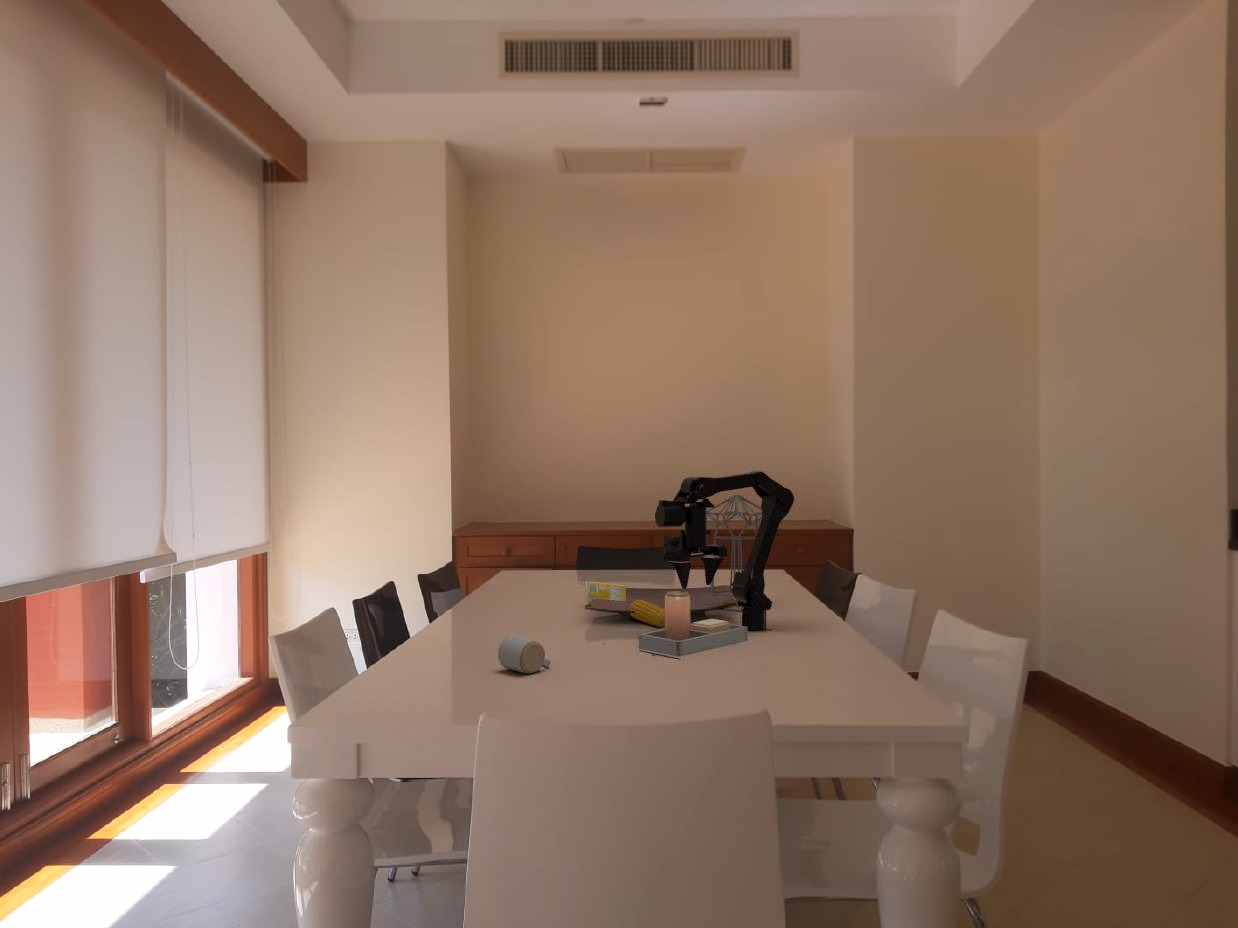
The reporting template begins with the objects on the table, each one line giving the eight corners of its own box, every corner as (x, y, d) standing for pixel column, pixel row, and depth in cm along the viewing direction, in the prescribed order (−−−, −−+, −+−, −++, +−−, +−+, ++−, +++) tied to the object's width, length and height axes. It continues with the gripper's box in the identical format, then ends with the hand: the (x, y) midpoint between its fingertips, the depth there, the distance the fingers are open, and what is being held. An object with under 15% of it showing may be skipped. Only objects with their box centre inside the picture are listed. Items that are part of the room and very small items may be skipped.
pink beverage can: (686, 644, 209) (686, 590, 209) (693, 649, 203) (693, 594, 203) (662, 645, 207) (662, 591, 207) (669, 650, 202) (668, 594, 202)
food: (626, 619, 248) (626, 599, 248) (643, 617, 251) (643, 597, 251) (663, 631, 230) (663, 609, 230) (681, 629, 232) (681, 607, 232)
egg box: (711, 635, 218) (711, 618, 218) (730, 639, 214) (730, 621, 214) (690, 640, 213) (690, 622, 213) (709, 644, 208) (708, 625, 208)
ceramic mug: (521, 677, 181) (521, 640, 181) (497, 671, 187) (497, 635, 187) (558, 669, 189) (558, 634, 189) (534, 663, 194) (534, 629, 195)
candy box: (626, 612, 260) (626, 585, 260) (622, 613, 259) (621, 585, 259) (589, 606, 271) (588, 580, 271) (584, 607, 270) (584, 581, 270)
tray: (707, 635, 222) (707, 620, 222) (747, 642, 213) (747, 626, 213) (638, 651, 205) (638, 634, 205) (679, 659, 196) (678, 641, 196)
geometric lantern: (701, 608, 265) (700, 494, 266) (734, 603, 276) (733, 494, 277) (741, 614, 253) (740, 495, 254) (774, 608, 264) (773, 494, 265)
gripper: (696, 522, 233) (696, 580, 233) (647, 526, 220) (648, 587, 220) (728, 524, 225) (729, 584, 225) (679, 528, 212) (680, 592, 212)
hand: (696, 586), depth 220 cm, fingers open, 9 cm apart
